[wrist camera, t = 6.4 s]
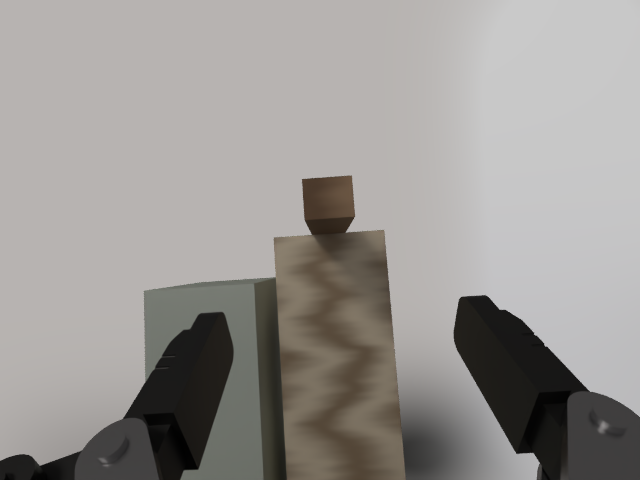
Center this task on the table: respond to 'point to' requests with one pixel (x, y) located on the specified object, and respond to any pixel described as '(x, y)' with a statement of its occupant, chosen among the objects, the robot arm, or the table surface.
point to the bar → (328, 204)
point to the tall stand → (338, 358)
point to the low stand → (231, 373)
